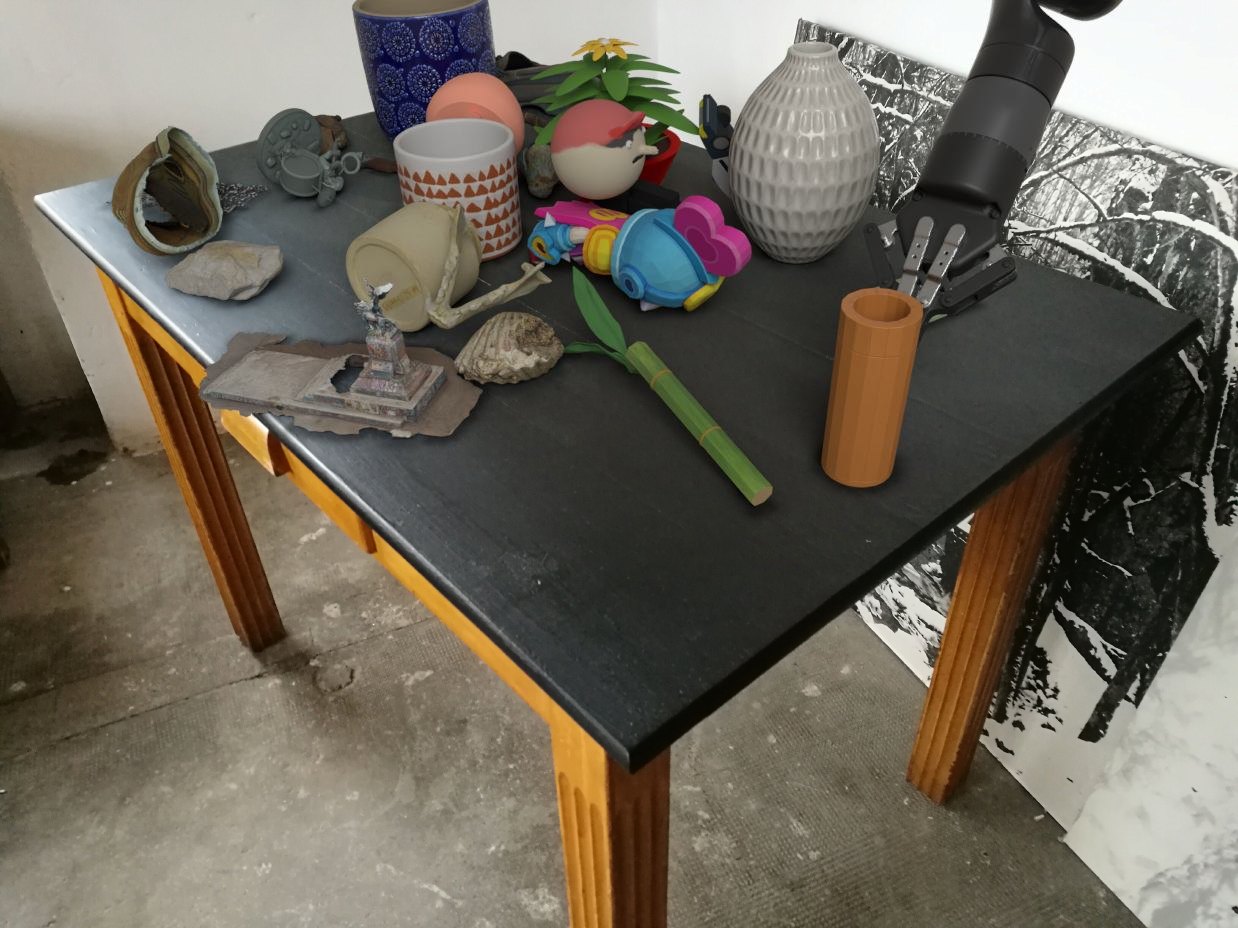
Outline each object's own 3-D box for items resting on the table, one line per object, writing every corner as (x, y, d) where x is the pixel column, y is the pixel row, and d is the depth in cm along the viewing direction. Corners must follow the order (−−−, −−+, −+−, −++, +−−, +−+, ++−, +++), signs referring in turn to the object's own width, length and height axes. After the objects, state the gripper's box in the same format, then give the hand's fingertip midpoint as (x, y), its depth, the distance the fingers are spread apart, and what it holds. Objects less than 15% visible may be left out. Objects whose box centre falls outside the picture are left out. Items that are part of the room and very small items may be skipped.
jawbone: (547, 297, 94) (567, 238, 88) (491, 376, 86) (510, 316, 80) (442, 243, 94) (456, 180, 88) (376, 316, 85) (386, 252, 79)
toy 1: (649, 214, 94) (635, 116, 88) (546, 214, 98) (526, 120, 92) (679, 177, 101) (668, 84, 95) (582, 177, 105) (566, 89, 99)
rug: (268, 184, 126) (270, 191, 127) (153, 173, 132) (156, 179, 132) (223, 212, 119) (225, 218, 120) (104, 199, 124) (106, 205, 125)
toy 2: (701, 276, 104) (595, 234, 110) (717, 257, 106) (612, 216, 111) (700, 220, 97) (587, 178, 103) (717, 200, 99) (605, 160, 105)
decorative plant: (723, 504, 69) (538, 282, 85) (721, 558, 76) (550, 343, 92) (788, 467, 71) (594, 256, 87) (780, 524, 77) (602, 318, 93)
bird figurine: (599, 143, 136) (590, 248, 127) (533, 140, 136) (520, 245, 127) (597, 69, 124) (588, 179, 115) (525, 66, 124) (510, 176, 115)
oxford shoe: (231, 167, 125) (175, 218, 128) (167, 109, 119) (108, 164, 121) (216, 263, 105) (149, 322, 107) (138, 200, 98) (68, 264, 101)
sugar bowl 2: (400, 122, 111) (420, 72, 116) (473, 203, 120) (488, 153, 126) (477, 81, 105) (495, 30, 110) (547, 170, 114) (560, 119, 120)
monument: (156, 401, 87) (109, 282, 79) (253, 323, 98) (220, 212, 90) (442, 457, 80) (421, 332, 72) (510, 366, 91) (499, 249, 83)
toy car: (716, 121, 101) (677, 139, 104) (778, 207, 113) (742, 222, 116) (716, 89, 104) (678, 107, 106) (777, 177, 115) (742, 191, 118)
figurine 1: (317, 168, 132) (376, 208, 129) (255, 190, 125) (317, 233, 122) (317, 99, 125) (380, 140, 122) (252, 119, 118) (317, 163, 115)
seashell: (486, 330, 79) (419, 360, 86) (526, 400, 81) (458, 423, 88) (556, 281, 87) (491, 312, 94) (592, 346, 89) (525, 371, 96)
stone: (232, 254, 111) (165, 296, 106) (213, 214, 108) (143, 255, 102) (309, 277, 105) (243, 323, 99) (293, 235, 102) (223, 281, 96)
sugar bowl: (303, 219, 92) (396, 163, 102) (330, 313, 99) (415, 252, 109) (420, 246, 87) (507, 185, 96) (440, 344, 94) (519, 277, 104)
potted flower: (603, 156, 131) (595, 2, 118) (749, 196, 118) (757, 28, 105) (481, 215, 117) (457, 48, 104) (631, 268, 104) (624, 84, 91)
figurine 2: (273, 112, 139) (321, 97, 144) (281, 141, 142) (328, 126, 147) (326, 131, 132) (375, 115, 137) (333, 161, 134) (381, 145, 139)
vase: (827, 212, 114) (848, 19, 99) (892, 269, 101) (927, 59, 87) (705, 232, 110) (709, 37, 96) (757, 294, 98) (770, 81, 84)
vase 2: (533, 219, 116) (525, 118, 108) (508, 269, 106) (498, 161, 98) (429, 215, 118) (414, 115, 110) (395, 263, 107) (375, 156, 99)
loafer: (481, 83, 160) (473, 26, 154) (626, 105, 148) (623, 45, 142) (443, 102, 153) (433, 44, 147) (591, 127, 141) (587, 65, 135)
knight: (543, 310, 109) (741, 355, 89) (486, 219, 100) (692, 246, 80) (603, 243, 113) (805, 272, 93) (553, 150, 104) (765, 159, 84)
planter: (514, 164, 130) (496, 7, 117) (384, 181, 127) (350, 22, 114) (497, 122, 144) (479, -22, 131) (380, 136, 141) (350, -10, 128)
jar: (858, 435, 79) (883, 280, 69) (907, 471, 75) (940, 312, 66) (806, 458, 77) (824, 302, 67) (853, 496, 73) (880, 336, 63)
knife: (503, 213, 119) (524, 194, 122) (501, 205, 118) (523, 186, 121) (345, 177, 130) (367, 161, 133) (342, 170, 129) (365, 153, 132)
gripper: (894, 115, 72) (806, 315, 73) (1066, 146, 66) (968, 366, 66) (911, 159, 79) (830, 342, 79) (1069, 191, 72) (980, 391, 73)
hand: (893, 353), depth 73 cm, fingers closed
